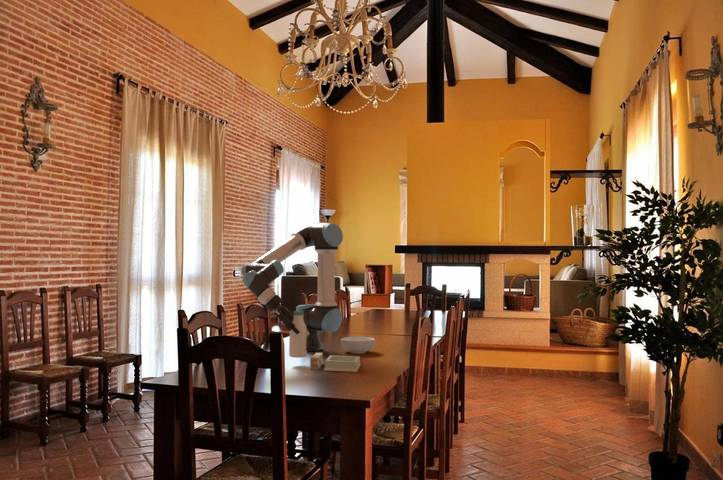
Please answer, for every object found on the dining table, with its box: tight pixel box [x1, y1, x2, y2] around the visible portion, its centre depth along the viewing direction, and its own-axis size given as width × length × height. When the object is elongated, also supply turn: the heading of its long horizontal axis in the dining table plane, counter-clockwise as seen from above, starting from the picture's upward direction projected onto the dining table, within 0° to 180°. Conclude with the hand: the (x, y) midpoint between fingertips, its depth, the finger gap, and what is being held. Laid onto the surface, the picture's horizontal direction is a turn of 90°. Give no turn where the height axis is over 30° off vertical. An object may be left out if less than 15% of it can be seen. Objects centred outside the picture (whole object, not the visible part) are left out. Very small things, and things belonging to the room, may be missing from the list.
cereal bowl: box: [340, 336, 376, 355], centre depth 301 cm, size 17×17×7 cm
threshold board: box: [309, 352, 324, 371], centre depth 263 cm, size 14×3×5 cm, turn 174°
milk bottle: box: [288, 310, 308, 359], centre depth 265 cm, size 8×8×20 cm
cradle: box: [323, 354, 361, 373], centre depth 262 cm, size 14×14×4 cm
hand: (305, 337), depth 264 cm, fingers closed on milk bottle, 7 cm apart
